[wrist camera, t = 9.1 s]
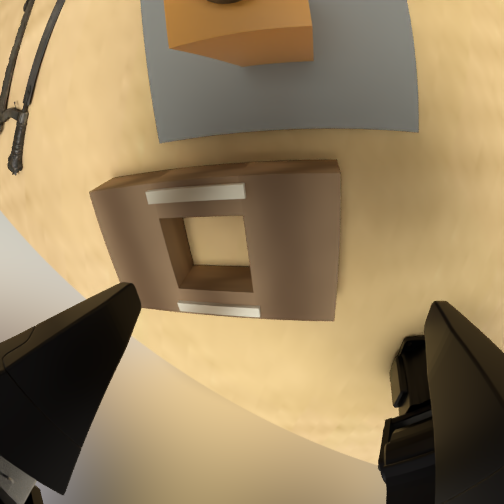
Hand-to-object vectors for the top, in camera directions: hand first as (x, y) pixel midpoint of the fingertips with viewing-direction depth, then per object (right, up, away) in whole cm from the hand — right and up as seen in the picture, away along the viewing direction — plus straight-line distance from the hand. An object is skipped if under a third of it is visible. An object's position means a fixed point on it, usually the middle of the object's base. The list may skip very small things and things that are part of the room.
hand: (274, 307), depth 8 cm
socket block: (-3, +3, +13) cm, 13 cm away
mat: (+1, +14, +5) cm, 15 cm away
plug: (+1, +14, +5) cm, 14 cm away
